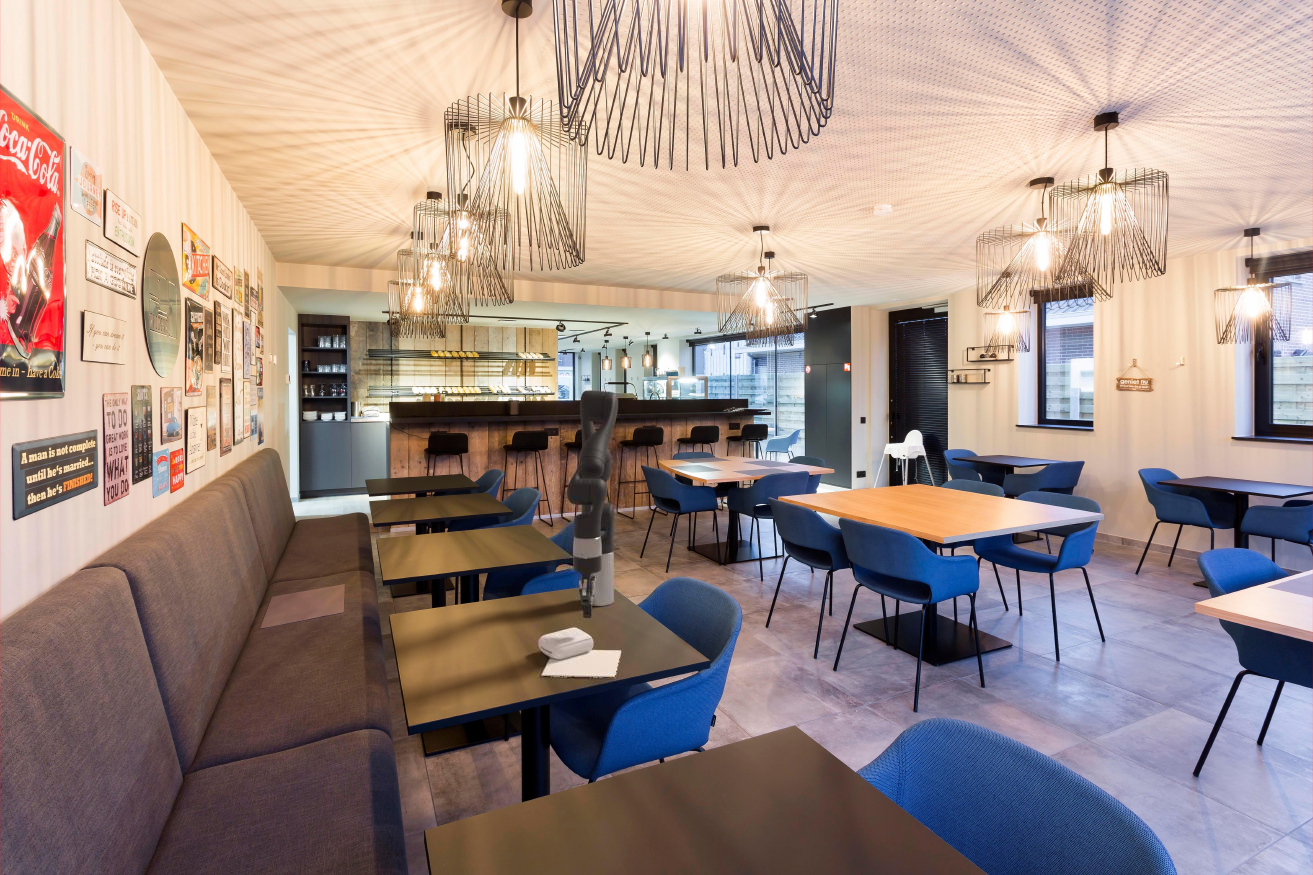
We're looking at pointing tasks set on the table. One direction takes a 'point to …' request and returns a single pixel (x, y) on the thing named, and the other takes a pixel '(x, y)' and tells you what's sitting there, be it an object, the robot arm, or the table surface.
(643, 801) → the table surface
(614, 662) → the mat
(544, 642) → the photo printer
